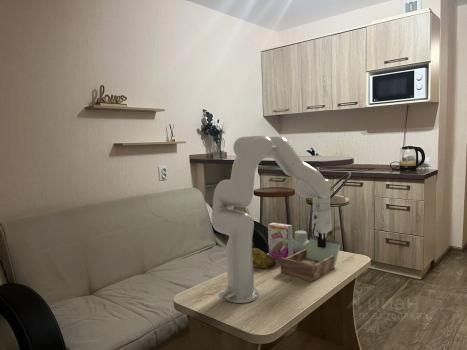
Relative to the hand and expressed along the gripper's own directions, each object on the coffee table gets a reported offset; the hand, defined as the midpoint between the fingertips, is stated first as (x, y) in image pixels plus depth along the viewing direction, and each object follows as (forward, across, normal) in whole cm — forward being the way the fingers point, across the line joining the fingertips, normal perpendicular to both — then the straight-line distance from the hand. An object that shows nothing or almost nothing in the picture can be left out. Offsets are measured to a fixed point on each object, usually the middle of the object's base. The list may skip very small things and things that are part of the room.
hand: (321, 247), depth 154 cm
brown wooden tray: (+8, -11, 0) cm, 14 cm away
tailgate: (+6, -2, 0) cm, 6 cm away
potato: (+8, -20, +19) cm, 29 cm away
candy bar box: (+8, -6, +18) cm, 21 cm away
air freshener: (+7, +8, +16) cm, 19 cm away
